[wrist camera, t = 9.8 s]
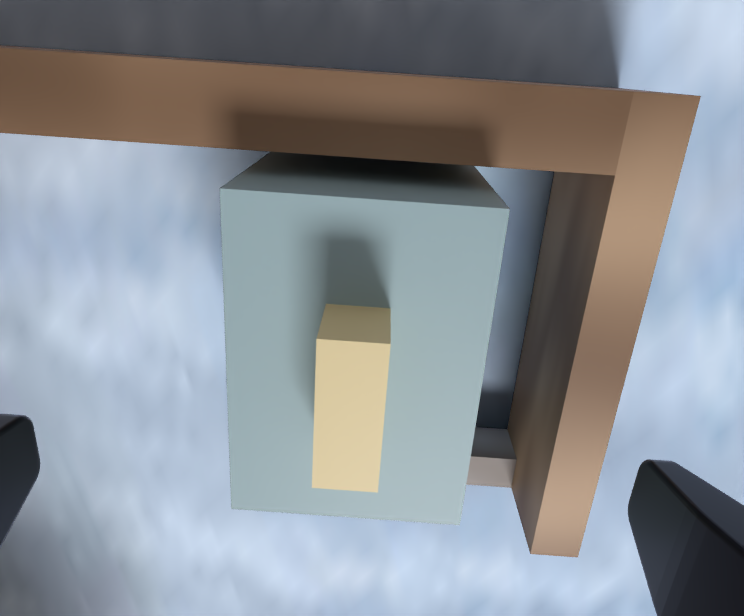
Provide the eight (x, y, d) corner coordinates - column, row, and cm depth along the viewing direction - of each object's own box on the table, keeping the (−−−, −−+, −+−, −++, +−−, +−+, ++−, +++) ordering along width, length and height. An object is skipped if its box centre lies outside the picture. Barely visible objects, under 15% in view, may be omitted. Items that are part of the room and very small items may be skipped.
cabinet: (440, 394, 18) (468, 581, 11) (276, 382, 18) (212, 562, 11) (469, 160, 15) (529, 231, 9) (277, 147, 15) (192, 207, 9)
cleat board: (540, 458, 18) (577, 557, 15) (-64, 415, 18) (-177, 503, 15) (619, 88, 14) (700, 96, 10) (-165, 33, 14) (-361, 21, 10)
